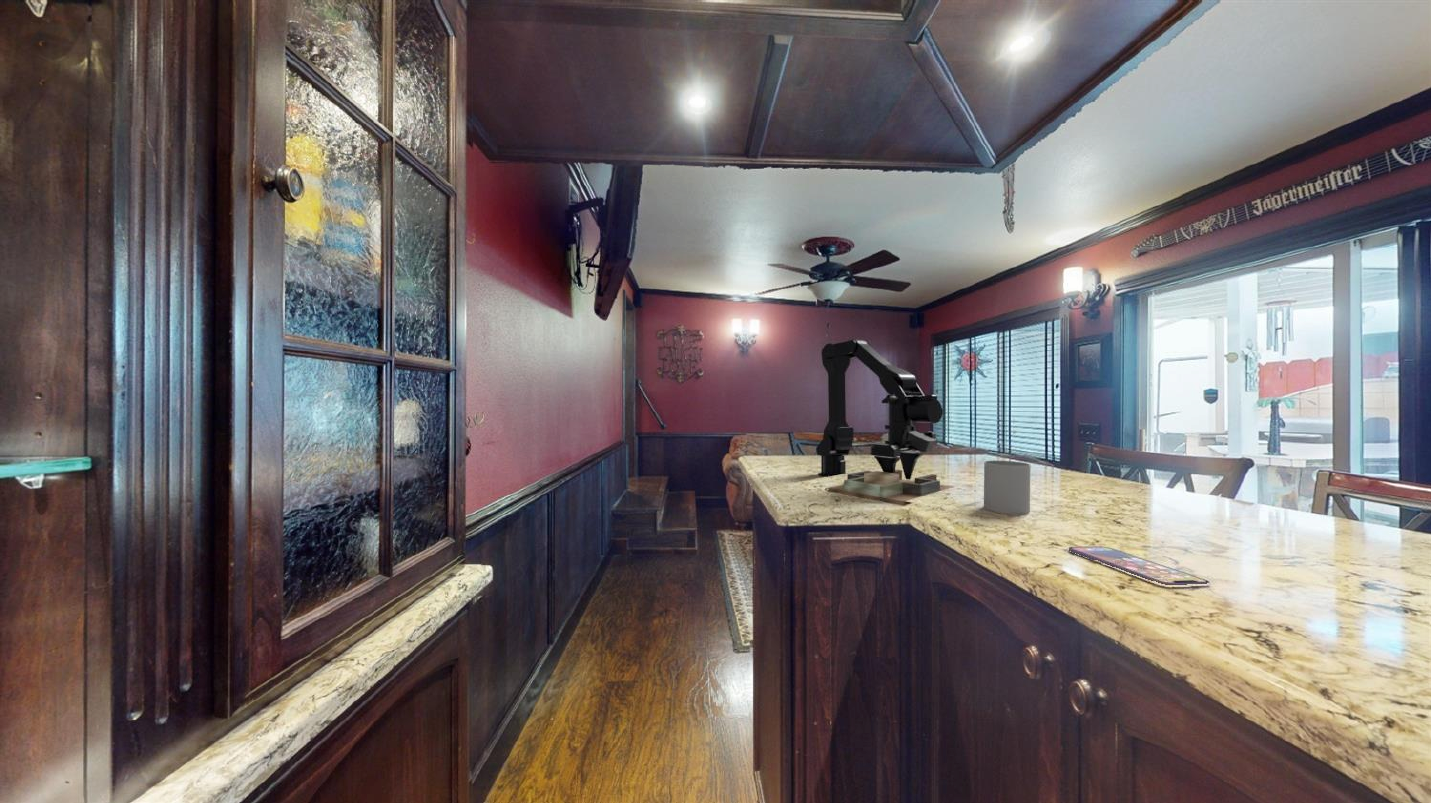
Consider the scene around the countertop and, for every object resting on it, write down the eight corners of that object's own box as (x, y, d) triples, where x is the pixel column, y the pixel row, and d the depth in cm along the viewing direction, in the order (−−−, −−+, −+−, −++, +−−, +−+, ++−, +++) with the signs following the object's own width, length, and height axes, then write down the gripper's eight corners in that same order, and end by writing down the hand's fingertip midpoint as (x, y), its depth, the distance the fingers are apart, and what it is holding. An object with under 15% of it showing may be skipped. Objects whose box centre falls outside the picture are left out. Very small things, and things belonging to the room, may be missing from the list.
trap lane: (828, 491, 121) (828, 477, 121) (882, 479, 138) (882, 467, 138) (903, 505, 106) (903, 489, 106) (954, 490, 123) (954, 477, 123)
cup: (1017, 505, 106) (1017, 460, 106) (1038, 515, 98) (1038, 466, 98) (977, 504, 107) (977, 460, 107) (994, 514, 99) (995, 465, 99)
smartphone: (1106, 551, 77) (1214, 589, 62) (1064, 552, 76) (1164, 590, 61) (1106, 546, 77) (1215, 582, 62) (1064, 546, 76) (1165, 583, 61)
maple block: (864, 489, 118) (864, 473, 118) (876, 486, 122) (877, 471, 122) (886, 493, 114) (886, 476, 114) (899, 490, 118) (899, 474, 118)
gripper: (912, 424, 112) (912, 490, 112) (947, 421, 124) (947, 481, 124) (869, 422, 120) (869, 484, 120) (906, 419, 132) (905, 475, 133)
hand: (899, 481), depth 124 cm, fingers open, 9 cm apart
